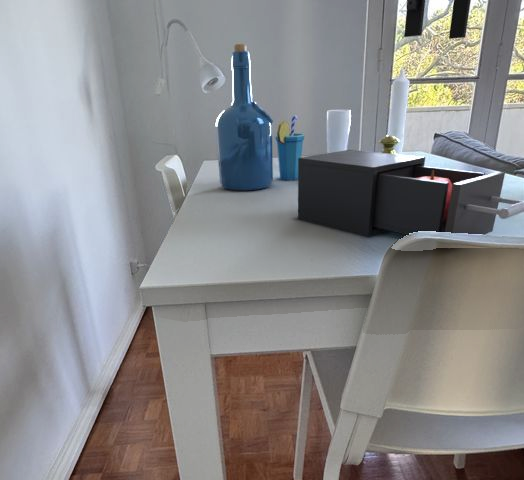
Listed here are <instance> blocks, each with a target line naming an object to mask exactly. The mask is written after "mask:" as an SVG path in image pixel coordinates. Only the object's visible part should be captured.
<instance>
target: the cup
mask: <svg viewBox="0 0 524 480" xmlns="http://www.w3.org/2000/svg"><path fill="white" fill-rule="evenodd" d="M297 120H299V117H298V116H297V115H295V114H292V117H291V123H290V124H289V123H288V122H287V121H286V120H282V121H281V122H280V123H279V124H278V127H277V132H276V134H275V135H274V139H275V141H276V149H277V158H278V159H277V161H278V171H279V179H280V180H281V181H298V158H301V157H303V156H302V155H303V144H304V140H305V135H304V134H303V133H295V124H296V123H295V122H296V121H297Z"/></svg>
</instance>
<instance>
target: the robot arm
mask: <svg viewBox="0 0 524 480" xmlns="http://www.w3.org/2000/svg"><path fill="white" fill-rule="evenodd" d="M471 1H472V0H453V4H452V11H451V19H450V25H449V26H450V27H449V33H448V39H449V40H453V39H454V40H455V39H464V38H466V36H467V35H466V34H467V29H468V24H469V23H468V21H469V16H470V15H469V14H470V9H471ZM425 10H426V0H406V14H405V25H404V35H403V37H404V38H413V37H421V36H422V35H423V28H424V27H423V26H424V18H425Z"/></svg>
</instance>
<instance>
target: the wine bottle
mask: <svg viewBox="0 0 524 480" xmlns="http://www.w3.org/2000/svg"><path fill="white" fill-rule="evenodd" d="M247 48H248V47H247V44H246V43H236V44H235V45H234V47H233V49H234V51H232V53H231V68H230V69H231V70H232V102H231V105H230V106H229V107H227V108H226V109H224V110H223V111H222V112H221V113H220V114H219V115H218V117H217V118H216V122H215V132H216V147H217V163H218V172H219V173H218V175H219V184H220V185H221V187H222V188H223V189H224V190H230V191H235V192H248V191H249V192H250V191H259V190H262V189H266V188H269V187H270V186H271V185H272V184H273V182H274V167H273V165H274V161H273V159H274V158H273V123H274V122H275V121H274V119H273V118H272V117H271V115H270V114H268V113H267V112H266V111H265V109H263V108H261V106H260V105H258V103H257V102H256V101H255V100H253V90H252V87H253V86H252V75H251V69H252V66H251V65H252V63H251V57H250V51H247Z"/></svg>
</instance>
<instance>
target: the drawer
mask: <svg viewBox="0 0 524 480" xmlns="http://www.w3.org/2000/svg"><path fill="white" fill-rule="evenodd" d="M432 170H434V177H442V178H449V180H450V181H451V183H452V191H451V197H450V204H449V210H448V216H447V220H446V221H445V222H443V217H444V211H445V205H446V198H447V192H448V186H449V183H447V182H439V181H432V180H424V179H417V178H419V177H431V173H432ZM505 176H506V172H505V171H504V172H503V171H495V172H492V173H488V174H486V172H480V171H479V172H478V171H469V170H461V169H452V168H443V167H434V166H426V165H424V166H418V165H411V166H407V167H402V168H397V169H392V170H388V171H383V172H378V173H377V179H376V191H375V202H374V214H373V226H372V227H376V228H381V229H385V230H387V231H390V232H394V233H399V234H403V235H407V234H409V233H413V232H418V231H436V232H451V233H468V234H484V235H483V236H485V235H487V234H490V233H492V232H493V231H494V226H495V222H496V218H497V215H498V217H499V218H500V219H502V220H505V219H508V218H511V217H514V216H516V215H519V214H522V213H524V200H520V199H514V198H507V197H501V194H502V189H503V185H504V180H505ZM500 203H501V204H508V205H509V206H506V207H503V208H501V209H500V208H499V204H500Z"/></svg>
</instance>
